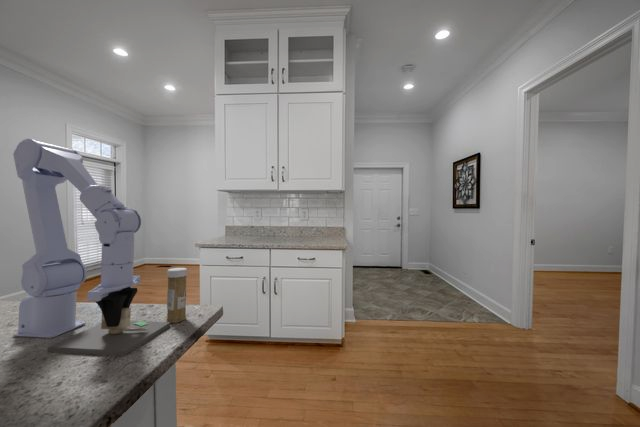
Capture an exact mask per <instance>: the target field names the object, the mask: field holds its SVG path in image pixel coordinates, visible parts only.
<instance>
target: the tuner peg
mask: <svg viewBox="0 0 640 427" xmlns="http://www.w3.org/2000/svg"><path fill="white" fill-rule="evenodd" d="M131 310H132V309H131V307H129V308H122V311H121V318H120V323H119V325H118V326H117V327H107V325H106V322H105V319H104V316H103V313H102V312H101V322H100V323H101V329H109V330H108V334H118V333H121V332H122V331H146V330H148V328H127V327H129V326H130V321H131Z"/></svg>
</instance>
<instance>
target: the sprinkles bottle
mask: <svg viewBox="0 0 640 427" xmlns="http://www.w3.org/2000/svg"><path fill="white" fill-rule="evenodd" d="M166 276H167V294H166V295H167V297H166V298H167V300H166V301H167V303H166V306H167V307H166V308H167V313H166V314H167V315H166V316H167V318H166V322H170V324H173V323H175V324H176V323H180V322H183V321H184V320H185V319H187V316H186V306H187V276H188V268H186V267H173V268H168V269H167V273H166Z"/></svg>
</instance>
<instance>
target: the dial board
mask: <svg viewBox="0 0 640 427" xmlns="http://www.w3.org/2000/svg"><path fill="white" fill-rule="evenodd" d="M170 327H171V323H170V322H167V321H148V320H130V326H129V327H127V328H148V330H146V331H122V332H121V333H118V334H108V330H109V329H101V322H100V323H98V324H96V325H94V326H91V327H89V328H88V329H85V330H82V331H80V332H78V333H75V334H74V335H73V334H72V335H71V336H69V337H67V338H64V339H62V340H60V341H58V342H55V343H53V344H51V345H48V346H47V352H48V353H63V354H80V355H97V356H98V355H101V356H116V357H117V356H118V357H125V356H126V355H128V354H130V353H131V352H133V351H135V350H136V349H138V348H139V347H140V346H142V345H144V344H146V342H149V341H150V340H151V339H153V338H155V337H157V336H158V335H159V334H161V333H162V332H164V331H165V330H167V329H168V328H170Z"/></svg>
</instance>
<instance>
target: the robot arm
mask: <svg viewBox="0 0 640 427" xmlns="http://www.w3.org/2000/svg"><path fill="white" fill-rule="evenodd" d="M12 155H13V160H14V164H15V170H16V174H17V177H18V178H19V179H20V180H21V181H22V188H23V193H24V199H25V203H26V208H27V212H28V214H27V215H28V218H29V223H30V229H31V233H32V238H33V243H34V249H35V254H34V255H33V256H30V258H28V259H27V260H26V261H25V262H24V263H22V264H21V265H22V266H21V267H22V275H21V280H20V283H21V288H22V289H23V291H24V292H25V293H26V294H27V295H25V297H23V298H22V300H21V301H20V303H19V306H18V323H17V324H18V326H17V330H18V331H17V332H15V333H13V337H25V338H26V337H27V338H47V339H52V338H55V337H57V336H60V335H63V334H64V333H68V332H69V331H72V330H75V329H78V328H79V327H81V326H84V325H86V321H78V320H77V319H76V318H77V315H76V314H77V290H79V289H81V285H83V283H85V281H86V280H87V275H88V271H87V267H86V265H85V264H84V263H83V261H82V258H81V254H80V253H77V252H75V251H73V250H71V249H69V247H68V243H67V238H66V234H65V230H64V224H63V223H64V222H63V219H62V215H61V210H60V205H59V199H58V195H57V190H56V186H58V185H60V184H64V183H65V182H66V181H69V183H71V185H73V187H75V188H76V189H77V190H78V192H80V194H79V200H80V202H81V203H82V204H83V205H84V207H85V208H86V209H87V210H88V212H90V213H91V215H92V216H93V217H94V218H95V219H96V220H95V221H94V228H95V230H96V232H97V233H98V241H99V242H100V244H101V264H100V284H98V285H97V286H95V287H94V288H93V289H91V290H89V291H87V296H86V297H87V299H86V300H87V302H95V303H96V304H97V305H98V307H99V309H100V311H101V314H102V313H103V316H104V319H105V322H106V325H107V327H117V326H118V325H119V323H120V318H121V311H122V308H131V304H132V302H133V299H134V298H135V296H136V294H137V293H138V288H137V287H136V286H138V285H140V284H141V275H134V262H135V260H134V256H135V233H137V232H138V231H139V230H140V228H141V225H142V218H141V215H140V214H139V212H138V211H137V210H136V209H133V208H129V207H127V206H125V205H124V203H123V202H121V200H119V199H118V198H117V197H116V196H115V194H114V193H113V190H112V188H111V187H109V186H105V185H101V184H98V183H97V182H96V181H95V180H94V178H93V176H92V175H91V174H90V172H89V171H88V169H87V168H86V167H85V166H84V157H83V156H82V155H80V153H79V152H78V150H77V149H74V148H70V147H68V148H67V147H63V146H59V145H55V144H51V143H46V142H42V141H37V140H35V139H32V138H25V139H23V140H21V141H20V142H19V143H18V144H17V145H16V148H15V149H14V151H13V154H12Z"/></svg>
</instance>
